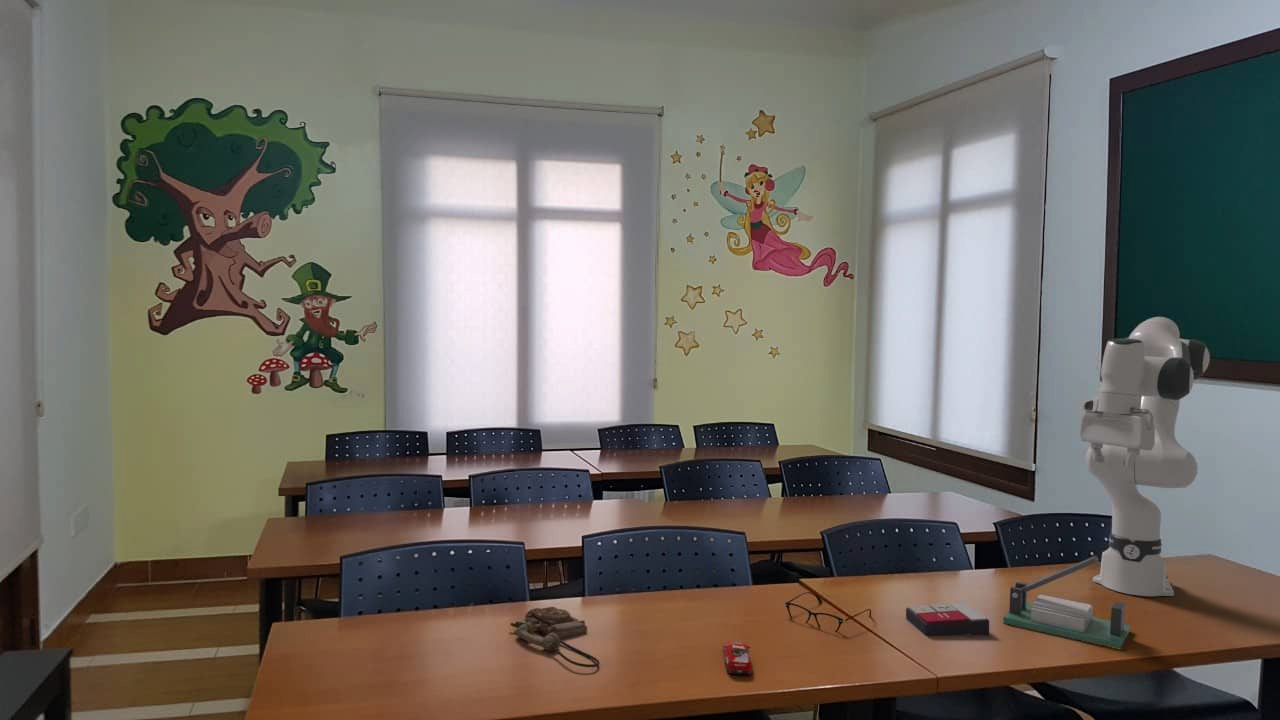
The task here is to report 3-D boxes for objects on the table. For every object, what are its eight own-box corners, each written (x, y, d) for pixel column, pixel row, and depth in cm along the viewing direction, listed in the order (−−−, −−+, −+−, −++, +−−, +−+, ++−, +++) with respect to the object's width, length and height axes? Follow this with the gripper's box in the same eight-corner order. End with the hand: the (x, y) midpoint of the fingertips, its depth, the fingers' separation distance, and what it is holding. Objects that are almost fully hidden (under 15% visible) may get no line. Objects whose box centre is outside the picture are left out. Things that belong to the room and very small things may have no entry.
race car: (722, 651, 178) (722, 632, 178) (748, 652, 177) (748, 633, 177) (724, 677, 165) (725, 657, 164) (752, 678, 164) (753, 658, 164)
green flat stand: (1018, 607, 208) (1019, 577, 208) (1129, 631, 194) (1131, 599, 193) (1003, 623, 197) (1004, 591, 197) (1120, 650, 183) (1122, 615, 182)
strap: (1019, 593, 203) (1017, 589, 203) (1099, 559, 192) (1096, 555, 193) (1016, 596, 200) (1014, 592, 201) (1096, 562, 190) (1094, 558, 190)
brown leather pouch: (572, 678, 162) (574, 656, 162) (492, 625, 189) (493, 606, 189) (635, 663, 171) (636, 642, 171) (551, 615, 198) (552, 597, 198)
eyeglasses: (780, 617, 198) (781, 600, 198) (816, 602, 210) (816, 586, 210) (843, 637, 187) (844, 619, 187) (877, 619, 199) (878, 602, 199)
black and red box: (905, 604, 199) (966, 600, 200) (905, 622, 199) (966, 618, 201) (925, 621, 188) (990, 617, 189) (926, 640, 188) (990, 635, 190)
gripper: (1165, 411, 189) (1159, 472, 188) (1100, 405, 209) (1094, 461, 209) (1140, 408, 187) (1134, 470, 187) (1077, 402, 208) (1071, 458, 207)
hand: (1112, 465), depth 198 cm, fingers open, 8 cm apart
